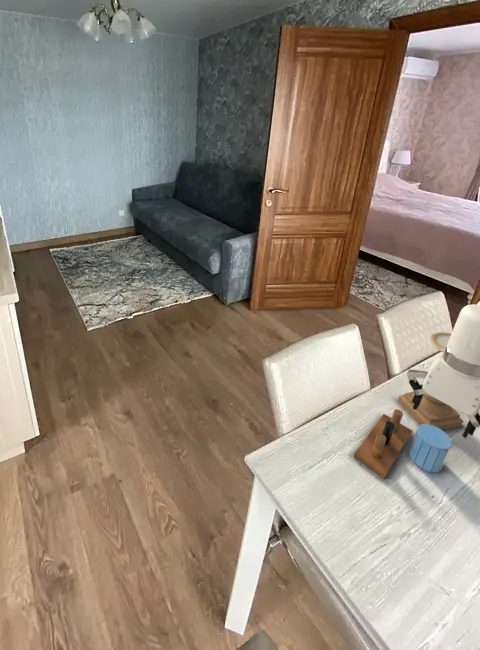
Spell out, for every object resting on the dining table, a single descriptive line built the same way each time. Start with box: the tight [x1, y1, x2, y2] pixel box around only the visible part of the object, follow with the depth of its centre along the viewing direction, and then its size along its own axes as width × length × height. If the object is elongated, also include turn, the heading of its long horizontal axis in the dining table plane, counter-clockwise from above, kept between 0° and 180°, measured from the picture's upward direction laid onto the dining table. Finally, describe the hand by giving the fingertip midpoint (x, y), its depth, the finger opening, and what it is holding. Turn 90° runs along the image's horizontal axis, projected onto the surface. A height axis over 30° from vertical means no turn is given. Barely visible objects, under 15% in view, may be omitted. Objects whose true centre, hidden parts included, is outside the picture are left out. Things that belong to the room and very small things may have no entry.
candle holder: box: [397, 331, 464, 431], centre depth 93 cm, size 11×11×24 cm
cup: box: [408, 424, 453, 473], centre depth 83 cm, size 7×7×8 cm
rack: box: [353, 408, 413, 479], centre depth 86 cm, size 18×7×8 cm, turn 130°
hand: (439, 419), depth 79 cm, fingers open, 9 cm apart
